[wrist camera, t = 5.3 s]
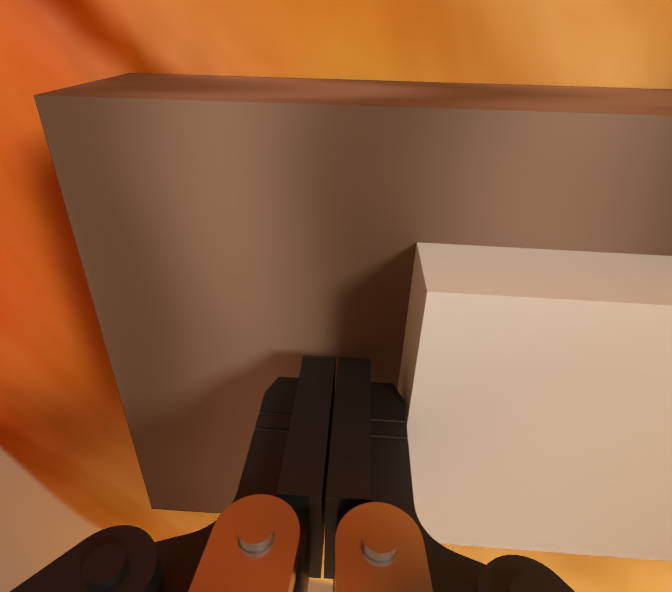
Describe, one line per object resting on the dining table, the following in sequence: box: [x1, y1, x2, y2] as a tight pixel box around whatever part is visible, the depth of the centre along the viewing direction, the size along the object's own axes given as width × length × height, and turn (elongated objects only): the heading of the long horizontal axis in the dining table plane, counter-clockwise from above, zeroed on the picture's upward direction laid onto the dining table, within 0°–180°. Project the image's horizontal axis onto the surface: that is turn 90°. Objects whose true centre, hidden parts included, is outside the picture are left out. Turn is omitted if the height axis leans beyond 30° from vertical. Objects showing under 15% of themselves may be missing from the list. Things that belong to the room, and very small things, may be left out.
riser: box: [34, 73, 672, 513], centre depth 13 cm, size 14×12×4 cm
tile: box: [398, 242, 672, 561], centre depth 10 cm, size 9×7×2 cm
